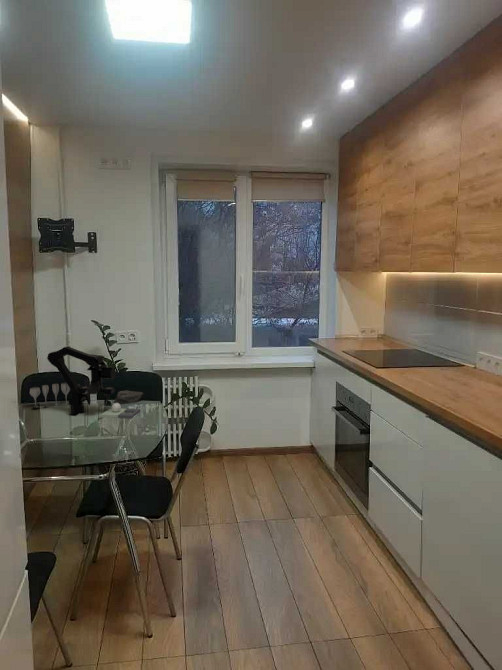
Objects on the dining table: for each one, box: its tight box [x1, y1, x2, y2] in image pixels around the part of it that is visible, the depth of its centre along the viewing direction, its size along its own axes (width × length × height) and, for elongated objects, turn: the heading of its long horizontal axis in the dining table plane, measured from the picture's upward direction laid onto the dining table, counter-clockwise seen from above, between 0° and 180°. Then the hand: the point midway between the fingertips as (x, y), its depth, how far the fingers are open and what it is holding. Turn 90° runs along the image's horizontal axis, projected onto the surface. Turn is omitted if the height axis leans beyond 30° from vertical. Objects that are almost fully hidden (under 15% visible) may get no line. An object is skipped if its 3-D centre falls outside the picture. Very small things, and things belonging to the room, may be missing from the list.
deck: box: [99, 407, 141, 419], centre depth 277 cm, size 18×14×2 cm
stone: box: [113, 389, 145, 405], centre depth 300 cm, size 18×9×10 cm
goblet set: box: [29, 382, 80, 407], centre depth 296 cm, size 28×6×13 cm, turn 116°
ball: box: [111, 402, 122, 412], centre depth 277 cm, size 5×5×5 cm
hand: (97, 405), depth 278 cm, fingers open, 9 cm apart
